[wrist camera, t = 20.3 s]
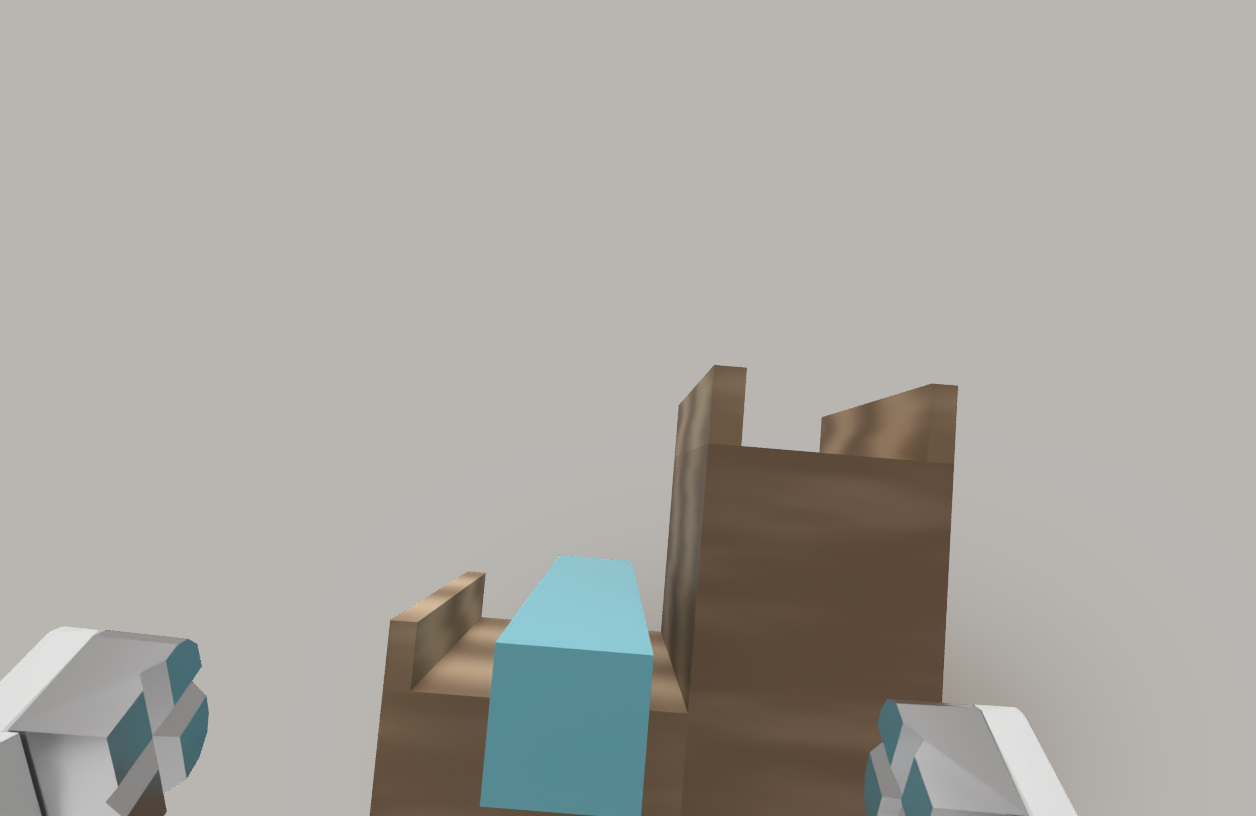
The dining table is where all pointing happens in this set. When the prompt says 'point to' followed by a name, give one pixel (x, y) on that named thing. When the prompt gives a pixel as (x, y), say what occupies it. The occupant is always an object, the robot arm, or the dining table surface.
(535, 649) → the bar
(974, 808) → the robot arm
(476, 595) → the stepped wooden block
